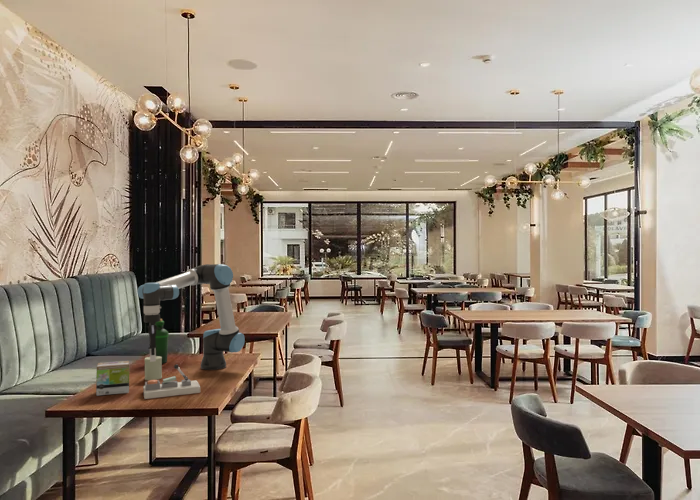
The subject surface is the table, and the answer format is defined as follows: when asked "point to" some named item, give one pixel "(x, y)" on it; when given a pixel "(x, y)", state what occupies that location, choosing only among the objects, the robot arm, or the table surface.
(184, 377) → the toggle lever
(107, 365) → the tea box
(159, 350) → the bottle
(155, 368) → the can
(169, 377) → the rocker switch
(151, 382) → the push button
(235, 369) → the table surface
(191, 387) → the switch panel
